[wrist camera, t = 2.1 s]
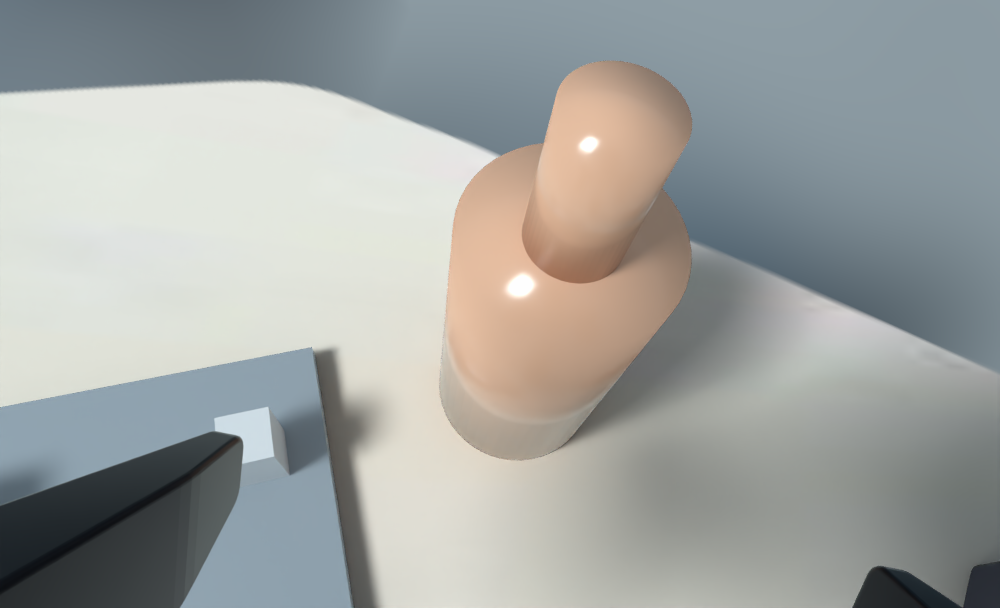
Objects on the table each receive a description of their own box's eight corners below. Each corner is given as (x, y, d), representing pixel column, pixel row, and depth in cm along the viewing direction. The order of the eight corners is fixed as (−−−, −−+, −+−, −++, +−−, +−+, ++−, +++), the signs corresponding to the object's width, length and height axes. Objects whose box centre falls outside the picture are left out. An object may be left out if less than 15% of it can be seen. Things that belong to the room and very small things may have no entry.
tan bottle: (617, 381, 24) (832, 117, 12) (524, 494, 22) (666, 315, 9) (506, 290, 25) (593, -38, 13) (407, 388, 23) (395, 104, 10)
